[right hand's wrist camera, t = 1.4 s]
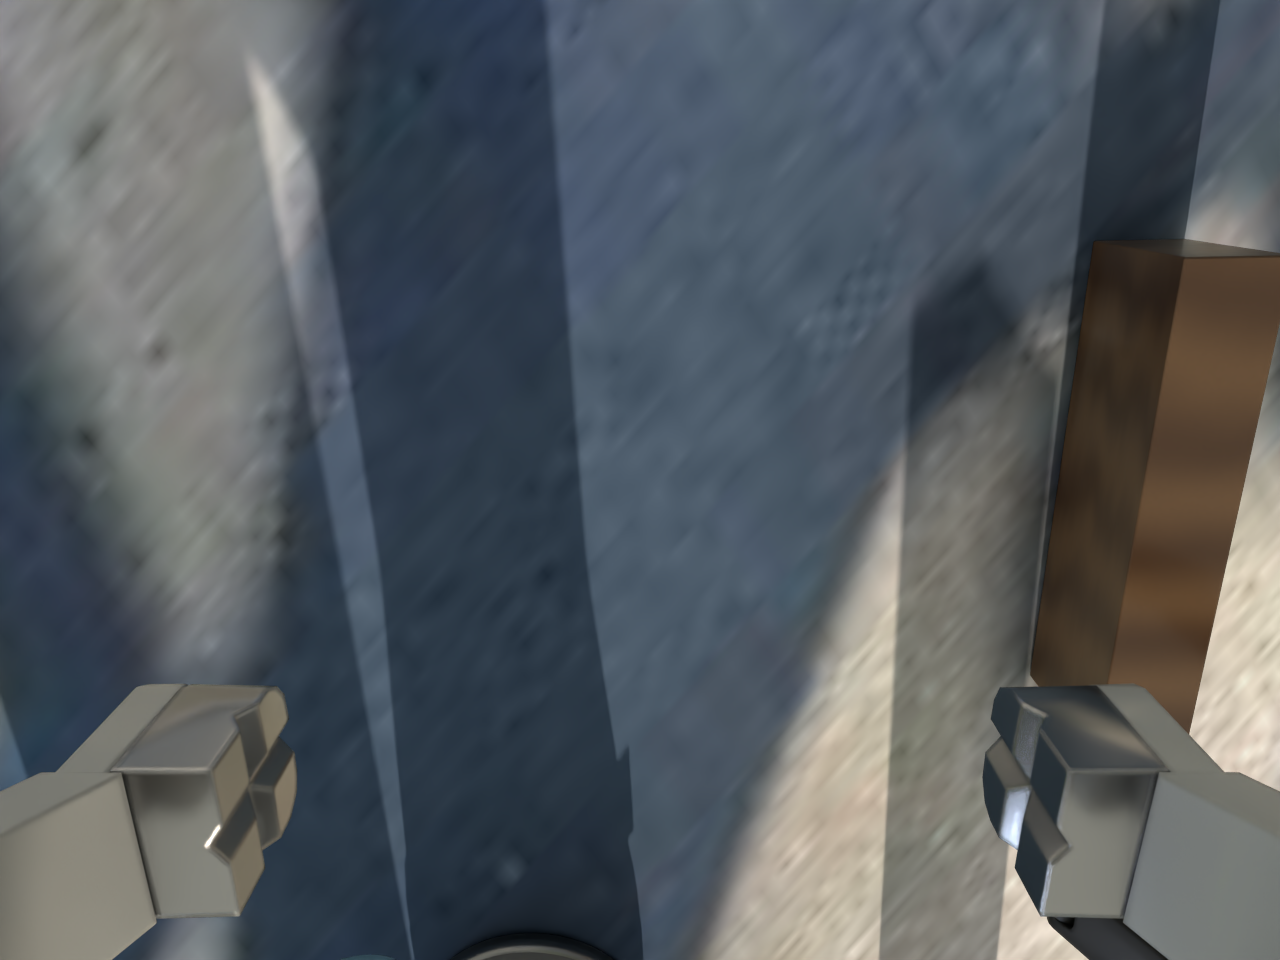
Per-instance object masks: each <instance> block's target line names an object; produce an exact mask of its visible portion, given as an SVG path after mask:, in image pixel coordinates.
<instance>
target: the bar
mask: <svg viewBox="0 0 1280 960" xmlns="http://www.w3.org/2000/svg"><path fill="white" fill-rule="evenodd" d="M1279 324H1280V253H1275V252H1268V251H1261V250H1255V249H1248V248H1241V247H1235V246H1228V245H1221V244H1214V243H1208V242H1201V241H1194V240H1187V239H1159V240H1104V241H1094V243H1093V250H1092V256H1091V263H1090V270H1089V277H1088V284H1087V291H1086V297H1085V304H1084V311H1083V318H1082V325H1081V331H1080V338H1079V345H1078V352H1077V359H1076V365H1075V372H1074V379H1073V386H1072V393H1071V400H1070V406H1069V413H1068V420H1067V427H1066V434H1065V440H1064V447H1063V454H1062V461H1061V468H1060V475H1059V481H1058V488H1057V495H1056V502H1055V509H1054V515H1053V522H1052V529H1051V536H1050V543H1049V550H1048V556H1047V563H1046V570H1045V577H1044V584H1043V590H1042V597H1041V604H1040V611H1039V618H1038V624H1037V631H1036V638H1035V645H1034V652H1033V659H1032V665H1031V672H1030V676H1031V677H1032V678H1033V680H1034V681H1035V682H1036V684H1037V685H1038V686H1039V687H1043V686H1087V685H1102V684H1130V683H1134V684H1136V685H1138V686H1141V687H1143V688H1145V689H1146V690H1147V691H1148V692H1149V693H1150V694H1151V695H1152V696H1153V697H1154V698H1155V699H1156V700H1157V701H1158V702H1159V704H1160V705H1161V706H1162V707H1163V708H1164V709H1165V710H1166V711H1167V712H1168V713H1169V714H1170V715H1171V716H1172V717H1173V718H1174V719H1175V720H1176V722H1177V723H1178V724H1179V725H1180V726H1181V727H1182V728H1183V729H1184V730H1185V731H1186V732H1187V733H1188V734H1189V732H1190V727H1191V723H1192V718H1193V714H1194V709H1195V705H1196V700H1197V696H1198V691H1199V686H1200V682H1201V677H1202V673H1203V668H1204V664H1205V659H1206V655H1207V650H1208V646H1209V641H1210V637H1211V632H1212V627H1213V623H1214V618H1215V614H1216V609H1217V605H1218V600H1219V596H1220V591H1221V587H1222V582H1223V578H1224V573H1225V569H1226V564H1227V559H1228V555H1229V550H1230V546H1231V541H1232V537H1233V532H1234V528H1235V523H1236V519H1237V514H1238V510H1239V505H1240V500H1241V496H1242V491H1243V487H1244V482H1245V478H1246V473H1247V469H1248V464H1249V460H1250V455H1251V451H1252V446H1253V441H1254V437H1255V432H1256V428H1257V423H1258V419H1259V414H1260V410H1261V405H1262V401H1263V396H1264V392H1265V387H1266V383H1267V378H1268V373H1269V369H1270V364H1271V360H1272V355H1273V351H1274V346H1275V342H1276V337H1277V333H1278V328H1279Z"/></svg>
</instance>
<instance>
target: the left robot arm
mask: <svg viewBox="0 0 1280 960" xmlns="http://www.w3.org/2000/svg"><path fill="white" fill-rule="evenodd" d="M1047 919H1048V922H1049V924H1050V925H1051V926H1052V927H1053V928H1054V929H1055V930H1056V931H1057V932H1058V933H1059V934H1060V935H1062V936H1063V937H1064V938H1065V939H1066V940H1067V941H1068V942H1070V943H1071V944H1072V945H1073V946H1074V947H1075V948H1076V949H1078V950H1079V951H1080V952H1081V953H1082V954H1083V955H1084V956H1086V957H1087V958H1088V959H1089V960H1168V959H1167V958H1166V957H1165V956H1163V955H1162V954H1161V953H1160V952H1159V951H1157V950H1156V949H1155V948H1154V947H1152V946H1151V945H1150V944H1149V943H1148V942H1146V941H1145V940H1144V939H1143V938H1141V937H1140V936H1139V935H1138V934H1136V933H1135V932H1134V931H1133V930H1132V929H1130V928H1129V927H1128V926H1127V925H1125V924H1124V923H1123V920H1124V919H1118V918H1082V917H1047ZM341 960H396V959H393V958H391V957H387V956H382V955H358V956H352V957H348V958H344V959H341ZM451 960H613V959H612V958H611V957H609V956H608V955H606V954H605V953H603V952H601V951H600V950H598V949H596V948H594V947H592V946H590V945H587V944H585V943H582V942H580V941H576V940H573V939H570V938H566V937H561V936H556V935H549V934H537V933H523V934H512V935H506V936H500V937H496V938H492V939H489V940H486V941H483V942H480V943H478V944H475V945H473V946H471V947H469V948H467V949H465V950H464V951H462V952H460V953H459V954H457V955H456V956H454V957H453V958H452V959H451Z"/></svg>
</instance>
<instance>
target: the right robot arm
mask: <svg viewBox="0 0 1280 960" xmlns="http://www.w3.org/2000/svg"><path fill="white" fill-rule="evenodd" d="M288 720H289V716H288V711H287V706H286V700H285V695H284V693H283V692H282V691H281V690H280V689H279V688H278V687H277V686H252V685H203V684H191V685H187V684H147V685H143V686H139V687H136V688H135V689H134V690H133V691H132V692H131V693H130V694H129V695H128V696H127V697H126V698H125V699H124V701H123V702H122V703H121V704H120V705H119V706H118V707H117V708H116V709H115V710H114V711H113V712H112V713H111V714H110V715H109V716H108V717H107V718H106V720H105V721H104V722H103V723H102V724H101V725H100V726H99V727H98V728H97V729H96V730H95V731H94V732H93V733H92V734H91V735H90V736H89V738H88V739H87V740H86V741H85V742H84V743H83V744H82V745H81V746H80V747H79V748H78V749H77V750H76V751H75V752H74V753H73V754H72V755H71V757H70V758H69V759H68V760H67V761H66V762H65V763H64V764H63V765H62V766H61V767H60V768H59V769H58V770H57V771H56V772H45V773H39V774H37V775H34V776H32V777H30V778H28V779H26V780H24V781H22V782H20V783H17V784H15V785H13V786H11V787H9V788H7V789H5V790H3V791H1V792H0V960H112V959H113V958H114V957H116V956H117V955H118V954H119V953H121V952H122V951H123V950H124V949H126V948H127V947H128V946H129V945H130V944H132V943H133V942H134V941H135V940H137V939H138V938H139V937H140V936H141V935H143V934H144V933H145V932H146V931H148V930H149V929H150V928H151V927H153V926H154V925H155V924H156V923H157V920H156V919H162V918H197V917H231V916H240V915H241V913H242V911H243V909H244V907H245V905H246V903H247V901H248V900H249V898H250V896H251V894H252V892H253V890H254V888H255V886H256V884H257V883H258V881H259V879H260V877H261V875H262V873H263V871H264V869H265V863H264V857H263V851H262V850H263V849H265V848H266V847H268V846H269V845H271V844H272V843H274V842H275V841H276V840H278V839H279V838H281V837H282V835H283V833H284V830H285V828H286V826H287V824H288V822H289V820H290V818H291V815H292V810H293V806H294V802H295V797H296V793H297V767H296V760H295V753H294V751H293V750H292V749H291V748H290V747H289V746H288V745H287V744H286V743H285V742H284V741H283V740H282V739H281V738H280V737H279V735H280V733H281V732H282V730H283V728H284V727H285V725H286V723H287V722H288ZM991 720H992V722H993V723H994V725H995V727H996V728H997V730H998V732H999V733H1000V735H1001V737H1000V738H999V739H998V740H997V741H996V742H995V743H994V744H993V745H992V746H991V747H990V748H989V749H988V750H987V751H986V753H985V761H984V770H983V787H984V798H985V804H986V807H987V811H988V814H989V817H990V820H991V822H992V825H993V827H994V829H995V831H996V833H997V835H998V837H999V838H1001V839H1002V840H1004V841H1005V842H1006V843H1008V844H1009V845H1011V846H1012V847H1014V848H1015V849H1017V850H1018V852H1017V858H1016V863H1015V869H1016V871H1017V873H1018V875H1019V877H1020V879H1021V881H1022V882H1023V884H1024V886H1025V888H1026V890H1027V892H1028V894H1029V896H1030V898H1031V899H1032V901H1033V903H1034V905H1035V907H1036V909H1037V911H1038V913H1039V914H1040V916H1046V917H1082V918H1118V919H1124V920H1123V923H1124V924H1125V925H1127V926H1128V927H1129V928H1130V929H1132V930H1133V931H1134V932H1135V933H1136V934H1138V935H1139V936H1140V937H1141V938H1143V939H1144V940H1145V941H1146V942H1148V943H1149V944H1150V945H1151V946H1152V947H1154V948H1155V949H1156V950H1157V951H1159V952H1160V953H1161V954H1162V955H1163V956H1165V957H1166V958H1167V959H1168V960H1280V792H1279V791H1277V790H1275V789H1273V788H1271V787H1269V786H1267V785H1265V784H1262V783H1260V782H1258V781H1256V780H1254V779H1252V778H1250V777H1248V776H1246V775H1244V774H1241V773H1236V772H1224V771H1223V770H1222V769H1221V768H1220V767H1219V766H1218V765H1217V764H1216V763H1215V762H1214V761H1213V760H1212V759H1211V758H1210V756H1209V755H1208V754H1207V753H1206V752H1205V751H1204V750H1203V749H1202V748H1201V747H1200V746H1199V745H1198V744H1197V743H1196V742H1195V741H1194V740H1193V738H1192V737H1191V736H1190V735H1189V734H1188V733H1187V732H1186V731H1185V730H1184V729H1183V728H1182V727H1181V726H1180V725H1179V724H1178V723H1177V722H1176V720H1175V719H1174V718H1173V717H1172V716H1171V715H1170V714H1169V713H1168V712H1167V711H1166V710H1165V709H1164V708H1163V707H1162V706H1161V705H1160V704H1159V702H1158V701H1157V700H1156V699H1155V698H1154V697H1153V696H1152V695H1151V694H1150V693H1149V692H1148V691H1147V690H1146V689H1145V688H1143V687H1141V686H1138V685H1136V684H1134V683H1130V684H1102V685H1087V686H1043V687H1000V689H999V691H998V693H997V695H996V697H995V699H994V704H993V709H992V715H991Z"/></svg>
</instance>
